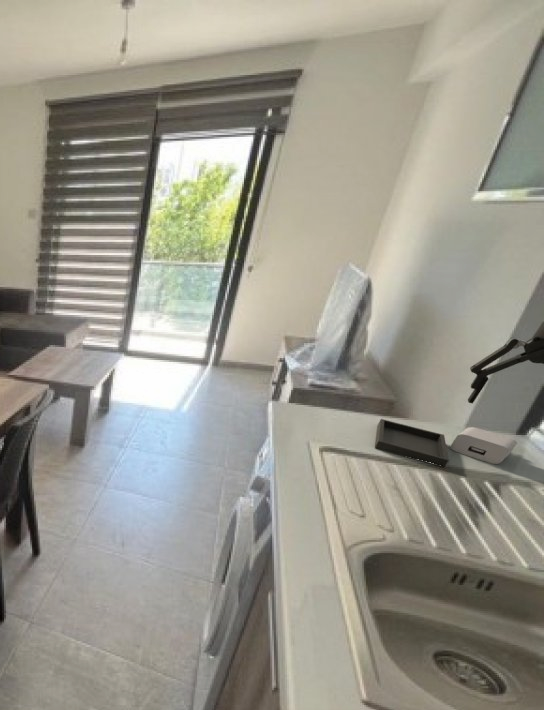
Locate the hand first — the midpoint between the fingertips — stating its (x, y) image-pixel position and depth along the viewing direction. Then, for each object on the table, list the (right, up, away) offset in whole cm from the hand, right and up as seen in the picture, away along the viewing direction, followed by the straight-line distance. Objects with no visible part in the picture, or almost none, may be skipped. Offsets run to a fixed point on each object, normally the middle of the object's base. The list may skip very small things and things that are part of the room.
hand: (507, 410), depth 117 cm
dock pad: (-19, -8, +6) cm, 21 cm away
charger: (-1, -10, +5) cm, 11 cm away
